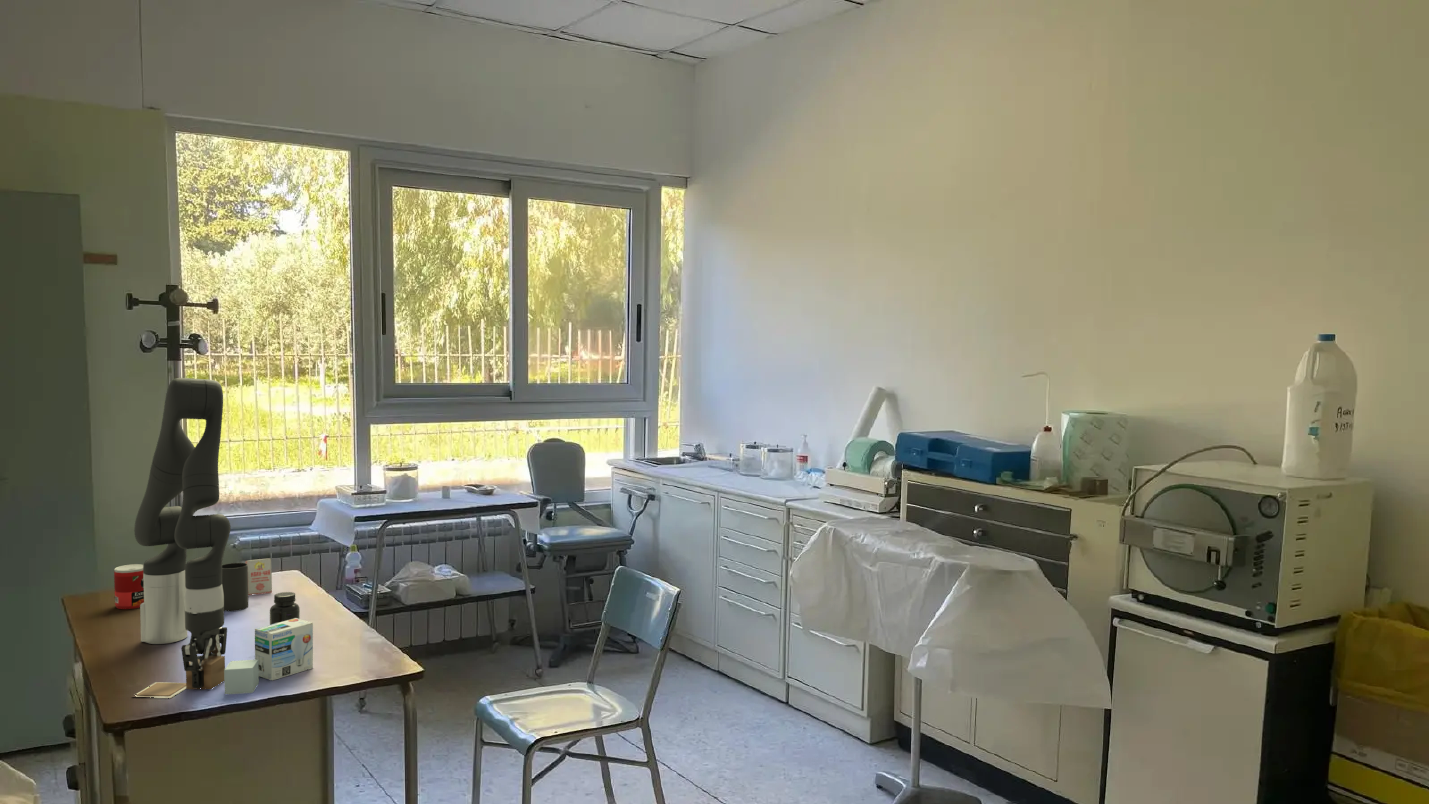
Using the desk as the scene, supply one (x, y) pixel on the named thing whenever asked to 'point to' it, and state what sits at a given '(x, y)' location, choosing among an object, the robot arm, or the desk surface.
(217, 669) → the walnut block
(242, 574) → the mug
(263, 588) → the beige rectangular box
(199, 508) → the robot arm
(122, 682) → the desk surface
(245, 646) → the desk surface
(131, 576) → the canned food
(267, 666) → the light bulb box
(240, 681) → the pale green cube
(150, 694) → the swatch
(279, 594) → the supplement bottle
